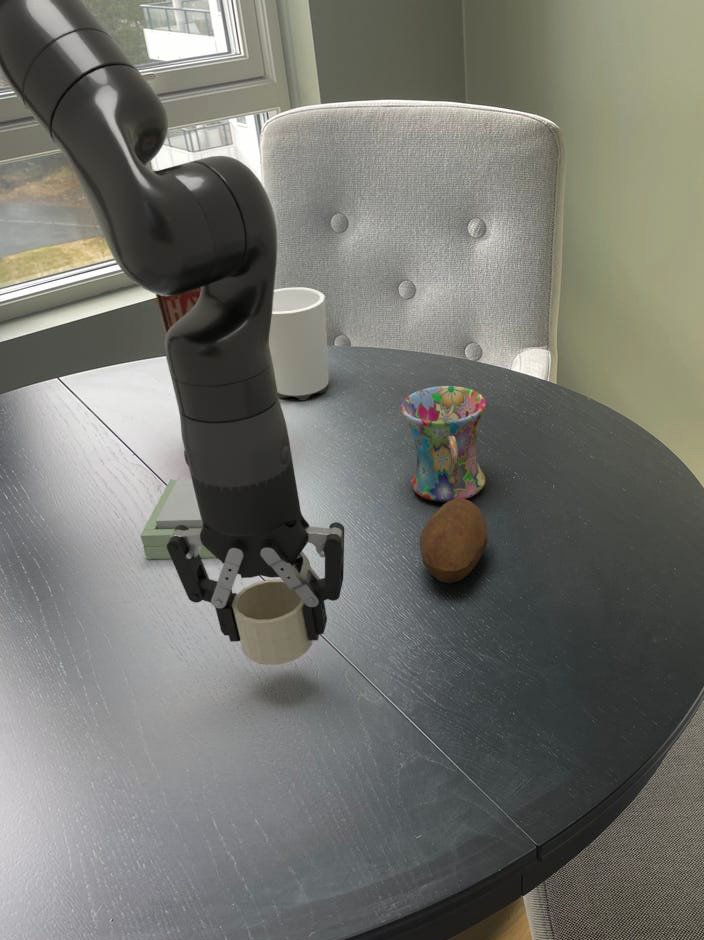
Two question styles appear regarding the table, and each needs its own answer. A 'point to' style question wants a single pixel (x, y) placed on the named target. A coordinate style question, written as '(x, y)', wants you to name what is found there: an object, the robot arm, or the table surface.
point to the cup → (299, 342)
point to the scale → (162, 533)
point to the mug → (445, 441)
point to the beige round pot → (271, 623)
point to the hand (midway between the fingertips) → (275, 634)
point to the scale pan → (180, 507)
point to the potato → (453, 540)
